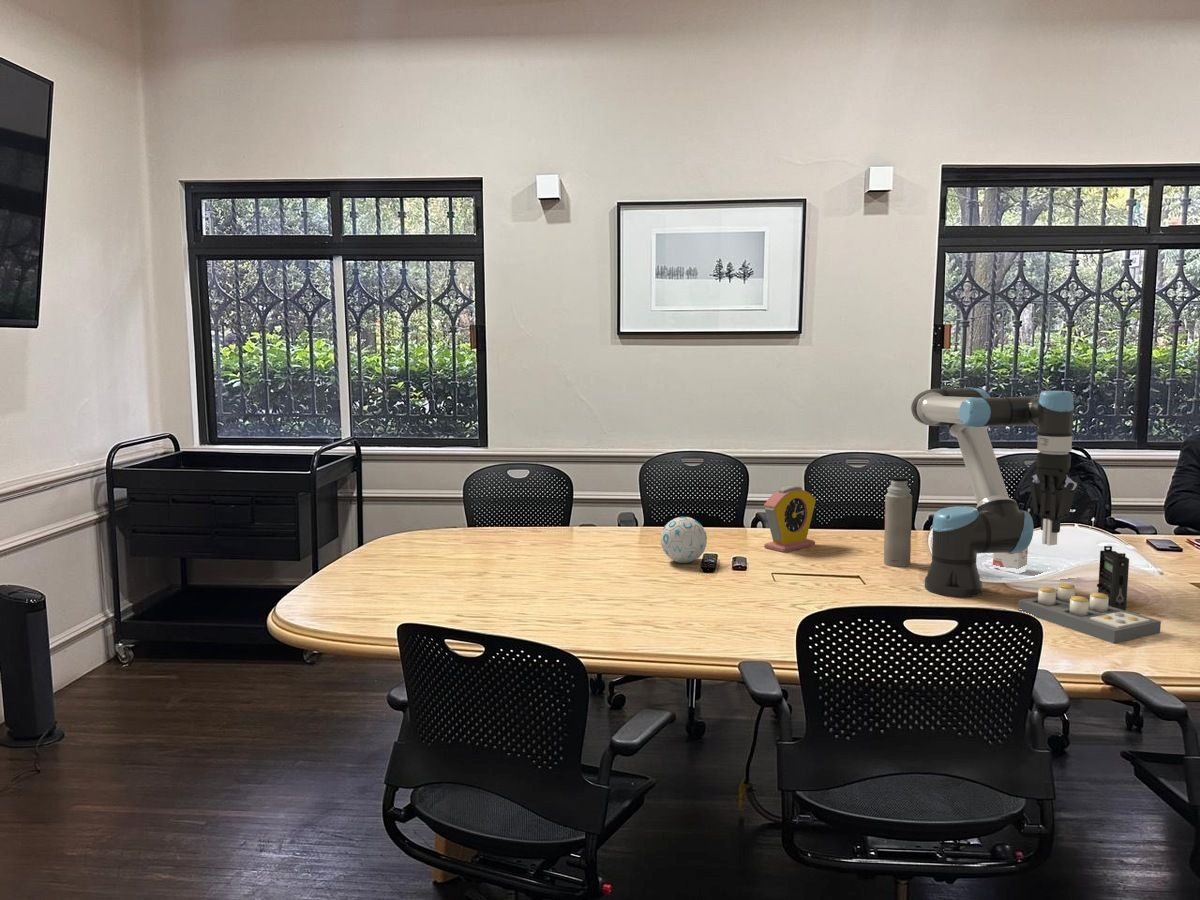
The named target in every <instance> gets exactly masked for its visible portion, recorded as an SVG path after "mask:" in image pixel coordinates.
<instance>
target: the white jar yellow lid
mask: <svg viewBox="0 0 1200 900" xmlns="http://www.w3.org/2000/svg"><path fill="white" fill-rule="evenodd" d="M1088 600H1089V599H1088V598H1087V597H1086V596H1081V595H1075V596H1072V597H1071V599H1070V610H1069V613H1070V614H1073V615H1076V616H1079V617H1084V616H1088V608H1089V601H1088Z"/></svg>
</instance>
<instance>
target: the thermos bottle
mask: <svg viewBox="0 0 1200 900" xmlns="http://www.w3.org/2000/svg"><path fill="white" fill-rule="evenodd" d="M890 479H891V481H890V486H888V487H887V493H886V494H885V498H884V499H885V500H884V501H885V503H884V508H885V509H884V536H883V537H884V538H883V539H884V541H883V542H884V544H883V545H884V546H883V564H884V565H886V566H889V567H890V566H891V567H897V568H900V567H901V568H902V567H903V568H904V567H905V568H906V567H909V566H910V565H911V556H912V555H911V550H912V548H911V547H912V540H911V538H912V516H913V515H912V513H913V495H912V494H911V488H910V487H909V486H908V479H909V478H908V477H905V476H892V477H891V478H890Z"/></svg>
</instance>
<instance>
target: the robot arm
mask: <svg viewBox="0 0 1200 900" xmlns="http://www.w3.org/2000/svg"><path fill="white" fill-rule="evenodd" d="M910 406H911V407H910V409H911V414H912V416H913V417H914V419H915V420H916V421H917V422H919V424H922V425H925V426H931V427H947V428H948V430H949V431H948V432H949V434H950V435H951V436H952V437H954V438H956V439H957V442H958V445H959V448H960V449H959V450H960V452H961V456H962V459H963V463H964V466H965V468H966V471H967V475H968V478H969V479H968V480H969V482H970V485H971V489H972V491H973V495H974V498H975V501H976V504H977V505H976V507H973V506H966V505H964V506H963V505H962V506H960V505H959V506H956V505H955V506H949V507H944V508H941V509H939V510H937V511H936V512H935V513H934V515H933V520H932V525H931V529H932V537H931V538H932V541H931V542H932V543H931V546H932V548H931V563H930V565H929V568H928V571H927V575H926V576H925V578H924V588H925V589H926V590H927V591H929V592H931V593H934V594H937V595H941V596H948V597H957V598H958V597H960V598H961V597H962V598H963V597H967V598H968V597H975V596H979V595H981V594H982V593H983V582H982V581H981V579H980V573H979V569H978V566H977V557H978V556H977V554H993V553H1012V552H1020V551H1023V550H1025V549H1026V548H1027V547H1028V548H1029V546H1030V544H1031V542H1032V541H1033V535H1034V521H1033V517H1032V516H1031V514H1030V513H1029V512H1028V511H1026V510H1022V509H1021V510H1020V509H1019V506H1018V503H1017V501H1016V500H1015V499H1012V498H1011V497H1010V496H1009V494H1008V490H1007V488H1006V485H1005V481H1004V477H1003V476H1002V473H1001V469H1000V466H999V464H998V460H997V457H996V454H995V452H994V448H993V445H992V442H991V439H990V436H989V433H988V429H989V428H990V427H1013V426H1014V427H1015V426H1016V427H1021V426H1022V427H1024V426H1032V427H1037V444H1036V446H1037V449H1036V450H1037V451H1038V452H1037V454H1036V467H1037V470H1036V474H1033V475H1032V476H1027V482H1028V484H1029V487H1030V493H1031V494H1030V495H1031V502H1032V509H1033V513H1034V514H1035V515H1038V516H1039V518H1040V530H1041V531H1042V536H1041V537H1042V538H1041V539H1042V540H1041V544H1042V545H1046V546H1050V547H1051V546H1056V545H1058V533H1060V531H1061V521H1062V520H1064V519H1069V516H1070V513H1071V509H1072V505H1073V500H1074V496H1075V493H1076V491H1077V489H1078V488H1079V487H1080V483H1079V482H1078V481H1076V482H1075V481H1073V480H1072V479H1071V475H1070V472H1069V471H1070V468H1071V462H1072V455H1071V453H1070V452H1072V447H1073V445H1072V443H1073V427H1074V426H1073V424H1074V410H1075V405H1074V394H1073V393H1072V392H1071V391H1068V390H1043V391H1041V392H1040V394H1039V397H1038V396H1033V395H1023V396H1011V397H1009V396H1007V397H991V396H990V394H989V393H988V392H987V391H985V390H984V389H983V388H975V387H970V386H969V387H964V388H963V387H962V388H958V387H957V388H931V389H926V390H923V391H921V392H920V393H918V394H917V395H916V396H915V397H914V398H913V400H912V402H911V405H910Z"/></svg>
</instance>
